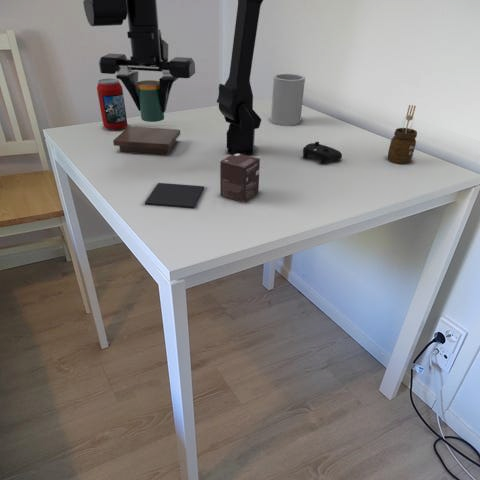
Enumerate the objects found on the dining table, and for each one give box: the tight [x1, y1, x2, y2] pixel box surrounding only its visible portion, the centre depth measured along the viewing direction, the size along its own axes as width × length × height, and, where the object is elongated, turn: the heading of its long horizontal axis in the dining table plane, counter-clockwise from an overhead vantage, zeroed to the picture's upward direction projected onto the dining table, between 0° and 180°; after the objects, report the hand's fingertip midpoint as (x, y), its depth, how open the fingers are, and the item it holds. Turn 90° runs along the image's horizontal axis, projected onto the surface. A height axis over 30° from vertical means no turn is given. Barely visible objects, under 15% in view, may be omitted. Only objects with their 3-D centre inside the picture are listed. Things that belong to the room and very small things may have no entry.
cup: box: [270, 73, 306, 127], centre depth 127 cm, size 9×9×12 cm
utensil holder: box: [387, 104, 418, 165], centre depth 103 cm, size 6×6×12 cm
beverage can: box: [96, 78, 128, 131], centre depth 118 cm, size 7×7×12 cm
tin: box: [137, 79, 165, 123], centre depth 91 cm, size 5×5×7 cm
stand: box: [112, 125, 181, 156], centre depth 109 cm, size 14×12×3 cm
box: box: [219, 153, 261, 203], centre depth 87 cm, size 6×6×7 cm
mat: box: [144, 182, 205, 209], centre depth 88 cm, size 10×10×1 cm
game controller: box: [302, 141, 343, 164], centre depth 106 cm, size 10×5×6 cm
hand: (152, 111), depth 93 cm, fingers closed on tin, 5 cm apart
